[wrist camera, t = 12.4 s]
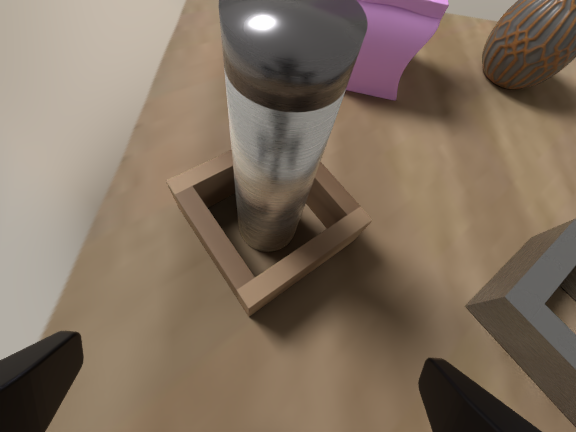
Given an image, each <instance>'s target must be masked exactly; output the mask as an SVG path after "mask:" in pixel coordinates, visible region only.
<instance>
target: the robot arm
mask: <svg viewBox="0 0 576 432" xmlns="http://www.w3.org/2000/svg"><path fill="white" fill-rule="evenodd" d="M82 364H83V348H82V340H81V335H80V334H79V333H78V332H73V331H59V332H57V333H55V334H53V335H51V336H49V337H47V338H45V339H43V340H41V341H39V342H37V343H35V344H33V345H31V346H29V347H26V348H25V349H23V350H21V351H18V352H16V353H14V354H12V355H10V356H8V357H6V358H4V359H2V360H0V432H45V431H46V429H47V428H48V426H49V424H50V423H51V421H52V419H53V417H54V415H55V414H56V412H57V410H58V408H59V406H60V405H61V403H62V401H63V399H64V398H65V396H66V394H67V392H68V390H69V389H70V387H71V385H72V383H73V381H74V380H75V378H76V376H77V374H78V373H79V371H80V369H81V367H82ZM418 384H419V391H420V394H421V397H422V400H423V403H424V406H425V409H426V413H427V416H428V419H429V422H430V425H431V428H432V431H433V432H542V431H540V430H539V429H537V428H536V427H535V426H533V425H532V424H531V423H529V422H528V421H527V420H525V419H524V418H523V417H521V416H520V415H519V414H517V413H516V412H515V411H513V410H512V409H510V408H509V407H508V406H506V405H505V404H504V403H502V402H501V401H500V400H498V399H497V398H496V397H494V396H493V395H492V394H490V393H489V392H488V391H486V390H485V389H484V388H482V387H481V386H479V385H478V384H477V383H475V382H474V381H473V380H471V379H470V378H469V377H467V376H466V375H465V374H463V373H462V372H461V371H459V370H458V369H457V368H455V367H454V366H452V365H451V364H450V363H448V362H447V361H446V360H444V359H441V358H428V359H427V360H426V361H425V363H424V366H423V369H422V372H421V375H420V378H419V383H418Z"/></svg>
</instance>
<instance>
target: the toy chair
mask: <svg viewBox="0 0 576 432" xmlns="http://www.w3.org/2000/svg"><path fill="white" fill-rule="evenodd" d="M357 1H358V2H359V4H360V5H361V6H362V8H363V10H364V12H365V14H366V17H367V23H368V26H367V32H366V35H365V37H364V40H363V43H362V46H361V49H360V51H359V54H358V57H357V60H356V63H355V65H354V68H353V71H352V74H351V77H350V80H349V82H348V85H347V88H346V90H348V91H353V92H357V93H362V94H367V95H371V96H376V97H381V98H385V99H390V100H396V99H397V89H398V84H399V80H400V77H401V75H402V73H403V70H404V69H405V67H406V66H407V64H408V63H409V62H410V60H411V59H412V58H413V57H414V56H415V54H416V53H417V52H418V51H419V50H420V49H421V48H422V47H423V46H424V45H425V44H426V43H427V42H428V40H429V39H430V38H431V37H432V36H433V34H434V33H435V32H436V30H437V28H438V26H439V23H440V20H441V18H442V17H443V15H444V13H445V11H446V9H447V8H448V6H449V4H448V0H357Z"/></svg>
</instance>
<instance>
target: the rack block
mask: <svg viewBox="0 0 576 432" xmlns="http://www.w3.org/2000/svg"><path fill="white" fill-rule="evenodd" d="M166 182H167V184H168V187H169V189H170V191H171V193H172V195H173V197H174V199H175V201H176V203H177V205H178V207H179V209H180V210H181V212H182V213H183V215H184V217H185V218H186V220H187V221H188V223H189V224H190V226H191V227H192V229H193V231H194V232H195V234H196V235H197V237H198V238H199V240H200V241H201V243H202V245H203V246H204V248H205V249H206V251H207V252H208V254H209V255H210V257H211V259H212V260H213V262H214V263H215V265H216V266H217V268H218V269H219V271H220V273H221V274H222V276H223V277H224V279H225V280H226V282H227V283H228V285H229V287H230V288H231V290H232V291H233V293H234V294H235V296H236V297H237V299H238V301H239V302H240V304H241V305H242V307H243V308H244V310H245V311H246V313H247V315H248V316H251V315H252V314H254V313H255V312H256V311H258V310H259V309H261V308H262V307H263V306H265V305H266V304H267V303H269V302H270V301H272V300H273V299H274V298H276V297H277V296H278V295H280V294H281V293H283V292H284V291H285V290H287V289H288V288H289V287H291V286H292V285H294V284H295V283H296V282H298V281H299V280H300V279H302V278H303V277H305V276H306V275H307V274H309V273H310V272H311V271H313V270H314V269H316V268H317V267H318V266H320V265H321V264H322V263H324V262H325V261H327V260H328V259H329V258H331V257H332V256H333V255H335V254H336V253H338V252H339V251H340V250H342V249H343V248H344V247H346V246H347V245H349V244H350V243H351V242H353V241H354V240H355V239H356V238H357V237H358V236H359V235H360V234H361V233H362V231H363V230H364V229H365V228H366V227H367V226H368V225H369V224H370V222H371V221H372V218H371V217H370V216H369V215H368V214H367V213H366V212H365V211H364V210H363V208H362V207H361V206H360V205H359V204H358V203H357V202H356V201H355V200H354V198H353V197H352V196H351V195H350V194H349V193H348V192H347V191H346V189H345V188H344V187H343V186H342V185H341V184H340V183H339V182H338V181H337V179H336V178H335V177H334V176H333V175H332V174H331V173H330V172H329V171H328V169H327V168H326V167H325V166H324V165H323V164H322V163H321V162H320V164H319V167H318V169H317V172H316V175H315V178H314V181H313V183H312V186H311V189H310V192H309V195H308V197H307V200H306V204H307V205H308V206H309V207H310V208H311V210H312V211H313V212H314V213H315V214H316V216H317V217H318V218H319V219H320V220H321V222H322V223H323V224H324V225H325V227H326V228H327V229H326V230H325V231H323V232H322V233H320V234H319V235H317V236H316V237H314V238H313V239H311V240H310V241H308V242H307V243H305V244H304V245H302V246H301V247H300V248H298V249H297V250H295V251H294V252H292V253H291V254H289V255H288V256H286V257H285V258H283V259H282V260H280V261H279V262H277V263H276V264H274V265H273V266H271V267H270V268H268V269H267V270H265V271H264V272H263V273H261V274H260V275H258V276H257V277H254V276H253V274H252V273H251V271H250V270H249V268H248V267H247V265H246V264H245V262H244V261H243V259H242V258H241V256H240V255H239V254H238V252H237V251H236V249H235V248H234V246H233V245H232V243H231V242H230V240H229V239H228V237H227V236H226V234H225V233H224V232H223V230H222V229H221V227H220V226H219V224H218V223H217V221H216V220H215V218H214V217H213V215H212V214H211V213H210V211H209V210H208V207H210V206H212V205H214V204H216V203H218V202H219V201H221V200H223V199H225V198H227V197H229V196H231V195H233V194H234V193H236V191H235V180H234V169H233V158H232V150H230V151H228V152H226V153H223V154H221V155H219V156H217V157H215V158H213V159H211V160H209V161H207V162H204V163H202V164H200V165H198V166H196V167H194V168H192V169H190V170H187V171H185V172H183V173H181V174H179V175H177V176H175V177H173V178H171V179H168V180H166Z"/></svg>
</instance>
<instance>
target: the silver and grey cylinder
mask: <svg viewBox="0 0 576 432" xmlns="http://www.w3.org/2000/svg"><path fill="white" fill-rule="evenodd" d="M219 15H220V26H221V37H222V48H223V59H224V70H225V81H226V92H227V103H228V114H229V125H230V136H231V147H232V158H233V169H234V180H235V191H236V202H237V214H238V225H239V231H240V234H241V237H242V238H243V240H244V241H245V242H246V243H247V244H248V245H249V246H251V247H252V248H254V249H256V250H259V251H264V252H272V251H277V250H279V249H282V248H283V247H285V246H286V245H287V244H288V243H289V242H290V241H291V240H292V238H293V236H294V234H295V231H296V228H297V226H298V223H299V220H300V217H301V214H302V211H303V209H304V206H305V203H306V200H307V197H308V195H309V192H310V189H311V186H312V183H313V181H314V178H315V175H316V172H317V169H318V167H319V164H320V161H321V158H322V155H323V153H324V150H325V147H326V144H327V141H328V138H329V136H330V133H331V130H332V127H333V124H334V122H335V119H336V116H337V113H338V110H339V108H340V105H341V102H342V99H343V96H344V94H345V91H346V88H347V85H348V82H349V80H350V77H351V74H352V71H353V68H354V65H355V63H356V60H357V57H358V54H359V51H360V49H361V46H362V43H363V40H364V37H365V35H366V32H367V26H368V23H367V17H366V14H365V12H364V10H363V8H362V6H361V5H360V4H359V2H358V1H357V0H219Z"/></svg>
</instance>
